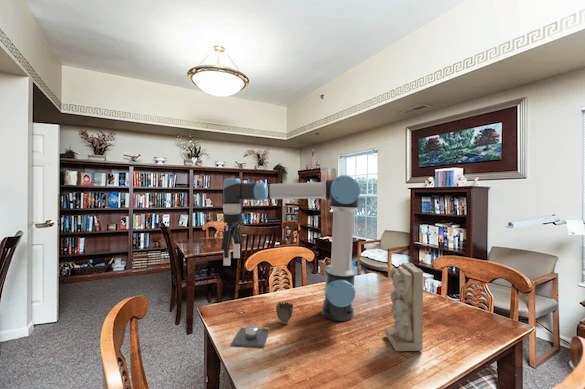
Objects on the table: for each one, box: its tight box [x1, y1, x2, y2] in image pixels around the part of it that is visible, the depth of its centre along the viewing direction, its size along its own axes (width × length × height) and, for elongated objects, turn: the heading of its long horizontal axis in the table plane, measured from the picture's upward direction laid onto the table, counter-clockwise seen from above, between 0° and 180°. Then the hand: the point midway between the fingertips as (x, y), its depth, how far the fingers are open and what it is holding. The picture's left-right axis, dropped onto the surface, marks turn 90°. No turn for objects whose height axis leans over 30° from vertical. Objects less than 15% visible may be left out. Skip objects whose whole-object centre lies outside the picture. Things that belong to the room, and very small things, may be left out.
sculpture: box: [384, 262, 424, 352], centre depth 105 cm, size 13×10×30 cm
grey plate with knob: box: [231, 324, 271, 348], centre depth 109 cm, size 12×12×4 cm
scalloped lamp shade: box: [275, 301, 294, 325], centre depth 122 cm, size 8×7×8 cm
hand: (231, 261), depth 123 cm, fingers open, 13 cm apart
